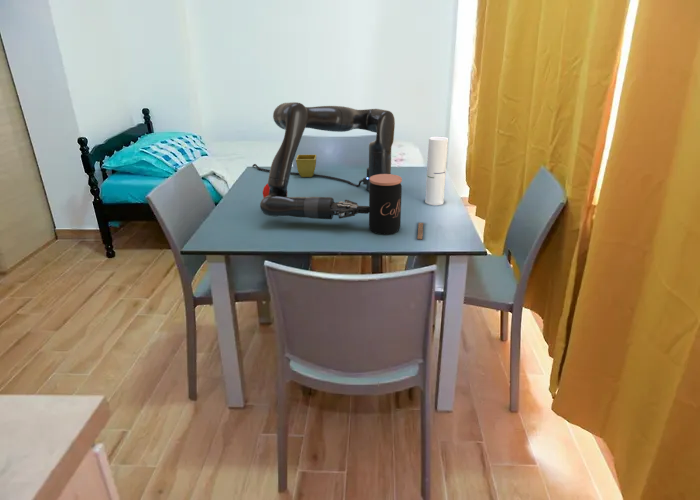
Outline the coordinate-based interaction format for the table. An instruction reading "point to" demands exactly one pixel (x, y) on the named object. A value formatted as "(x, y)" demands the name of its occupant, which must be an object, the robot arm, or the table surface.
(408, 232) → the table surface
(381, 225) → the coffee jar
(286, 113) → the robot arm
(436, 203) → the cylindrical container
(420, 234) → the strip
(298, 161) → the flower pot
